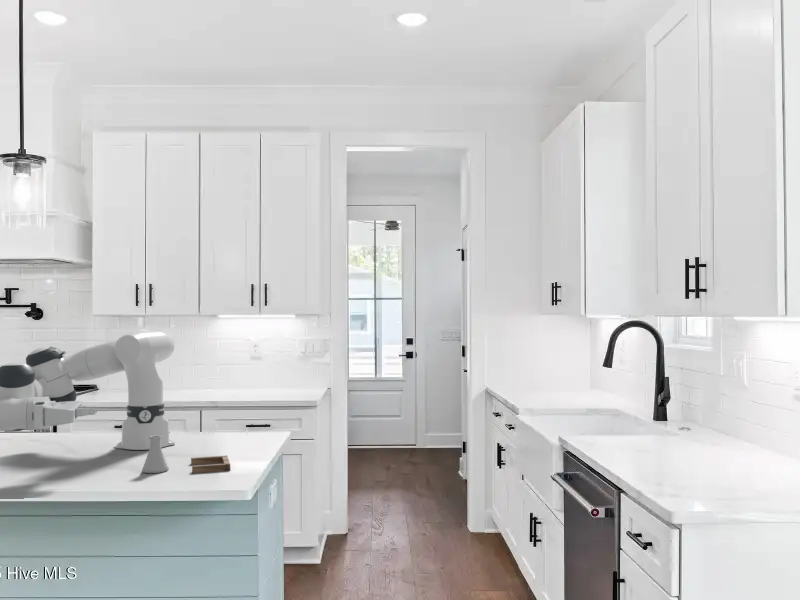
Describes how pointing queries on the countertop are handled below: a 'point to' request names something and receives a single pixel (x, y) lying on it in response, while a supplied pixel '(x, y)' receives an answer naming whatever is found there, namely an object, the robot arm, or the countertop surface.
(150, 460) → the flask
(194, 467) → the dock
